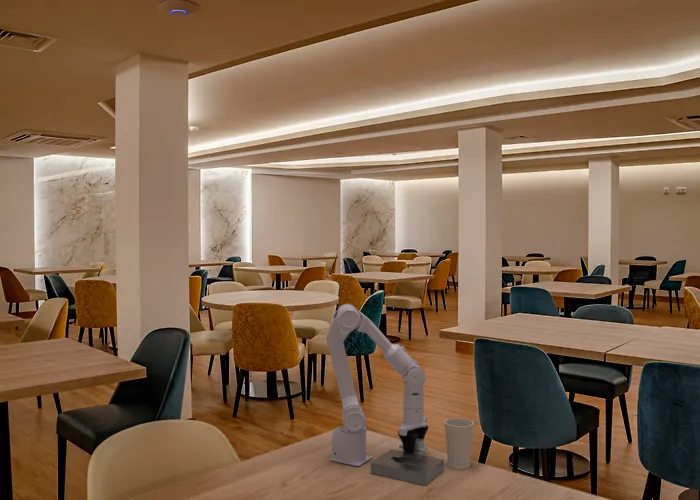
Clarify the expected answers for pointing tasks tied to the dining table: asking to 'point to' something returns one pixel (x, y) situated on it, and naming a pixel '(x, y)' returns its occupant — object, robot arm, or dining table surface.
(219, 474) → the dining table surface
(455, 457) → the cup
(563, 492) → the dining table surface
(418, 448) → the block
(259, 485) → the dining table surface
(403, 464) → the chassis
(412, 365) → the robot arm
